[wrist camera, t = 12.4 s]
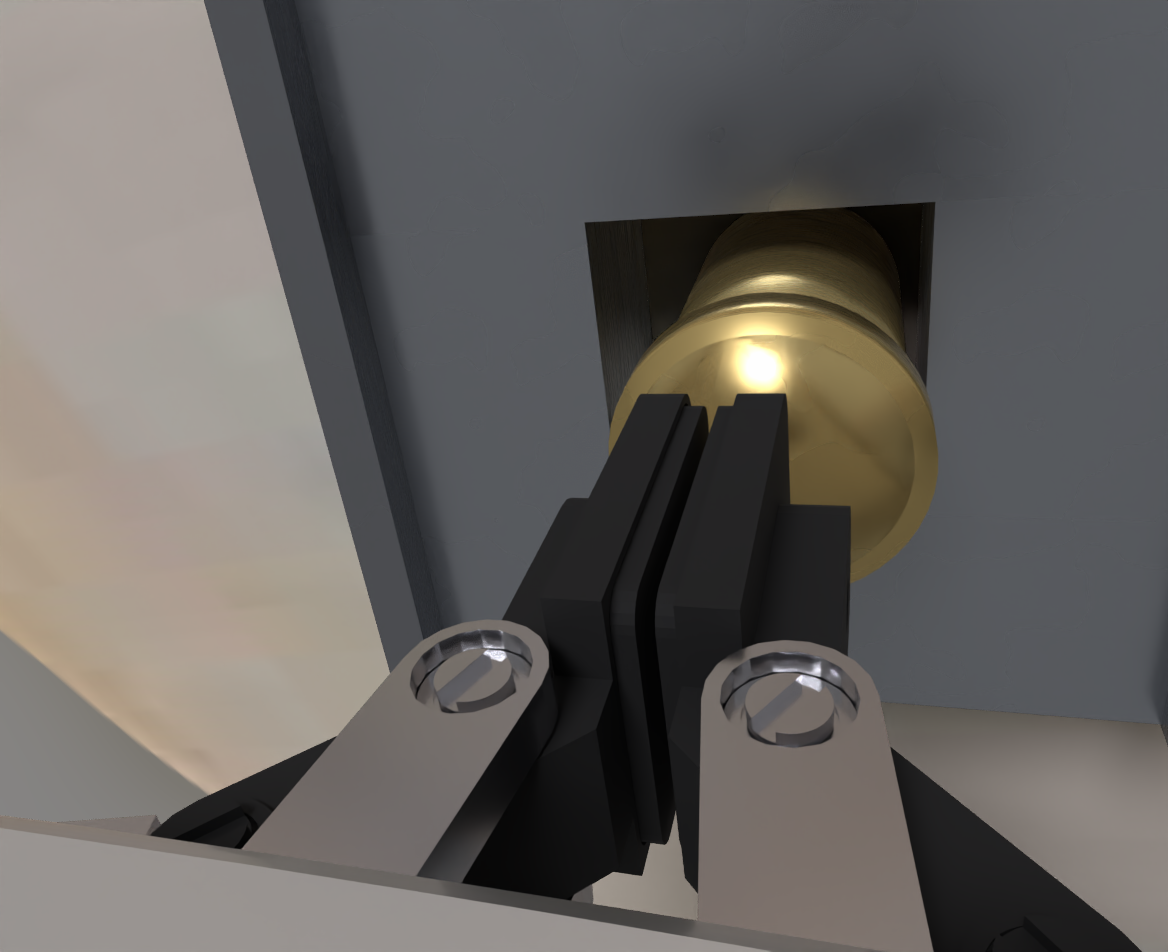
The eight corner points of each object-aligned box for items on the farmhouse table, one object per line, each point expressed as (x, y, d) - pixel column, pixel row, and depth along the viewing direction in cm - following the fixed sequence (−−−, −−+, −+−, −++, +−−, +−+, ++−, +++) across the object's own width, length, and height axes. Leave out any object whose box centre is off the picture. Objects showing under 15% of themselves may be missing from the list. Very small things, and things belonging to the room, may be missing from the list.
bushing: (678, 186, 19) (595, 313, 13) (925, 178, 18) (953, 312, 12) (688, 398, 21) (620, 586, 15) (907, 402, 20) (924, 608, 14)
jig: (347, -40, 19) (196, -27, 14) (1322, -186, 14) (1503, -229, 10) (473, 564, 25) (394, 690, 21) (1167, 598, 21) (1239, 766, 17)
